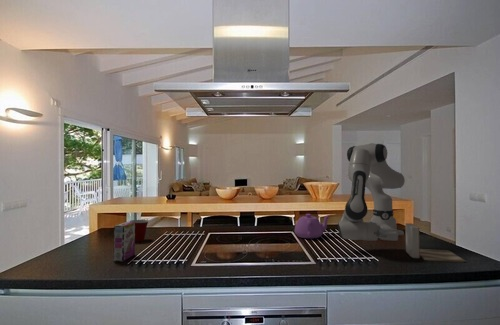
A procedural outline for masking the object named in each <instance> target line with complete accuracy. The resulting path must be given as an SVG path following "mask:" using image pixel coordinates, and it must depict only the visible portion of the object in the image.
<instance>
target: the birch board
mask: <svg viewBox="0 0 500 325" xmlns="http://www.w3.org/2000/svg"><path fill="white" fill-rule="evenodd" d="M420 259H422V260H424V261H432V262H448V263H464V262H465V263H466V260H465V259H464V258H462V257H460V256H459V255H457V254H456V253H454V252H452V251H451V250H449V249H448V250H447V249H430V248H429V249H428V248H425V249H424V248H420Z"/></svg>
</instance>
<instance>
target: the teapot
mask: <svg viewBox="0 0 500 325" xmlns="http://www.w3.org/2000/svg"><path fill="white" fill-rule="evenodd" d="M330 216H331V214H328V215H326V216H324V217H323V218H324V219H323V224H321V222H320V220H319V219H318V217H316V216H313V215H312V214H311V213H305V216H301V217H299V218H298V220H297V221H296V224H295V226H294V233H295V235H296V236H297V237H299V238H301V239H314V238H315V239H318V238H320V237H321V236H322V235H323V234H324V231H326V230H327V228H328V218H329V217H330Z"/></svg>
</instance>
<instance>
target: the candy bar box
mask: <svg viewBox="0 0 500 325" xmlns="http://www.w3.org/2000/svg"><path fill="white" fill-rule="evenodd" d="M135 244H136V243H135V222H130V221H125V222H122V223H119V224H116V225H114V226H113V262H118V263H119V262H120V263H122V262H123V263H124V262H125V261H126V260H128V259H130V258H131V257H133V256H135V252H136V250H135V247H136V246H135Z"/></svg>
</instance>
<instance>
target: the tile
mask: <svg viewBox="0 0 500 325" xmlns="http://www.w3.org/2000/svg"><path fill="white" fill-rule="evenodd" d="M404 230H405V252H406V253H407V254H408V255H409V257H411V258H412V259H421V257H420V249H421V248H420V247H421V246H420V241H421V240H420V227H419V226H417V225H415V224H414V223H409V222H408V223H407V222H406V223H405V229H404Z"/></svg>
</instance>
